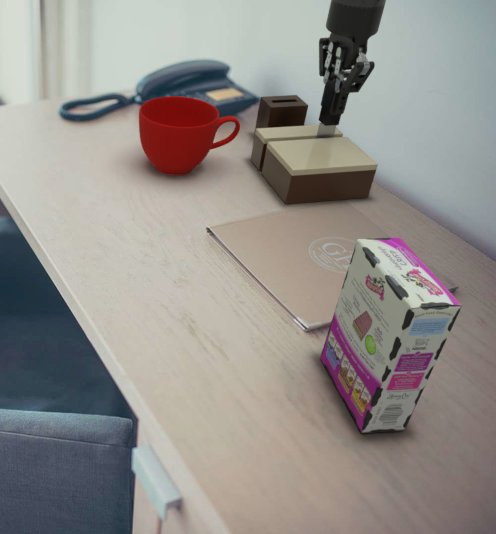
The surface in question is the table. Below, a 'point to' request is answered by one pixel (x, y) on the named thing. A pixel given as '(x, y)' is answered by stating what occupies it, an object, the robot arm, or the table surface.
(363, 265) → the candy bar box
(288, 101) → the knife block
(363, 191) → the cake
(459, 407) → the table surface
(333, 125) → the knife
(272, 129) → the cake slice
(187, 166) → the ceramic cup
